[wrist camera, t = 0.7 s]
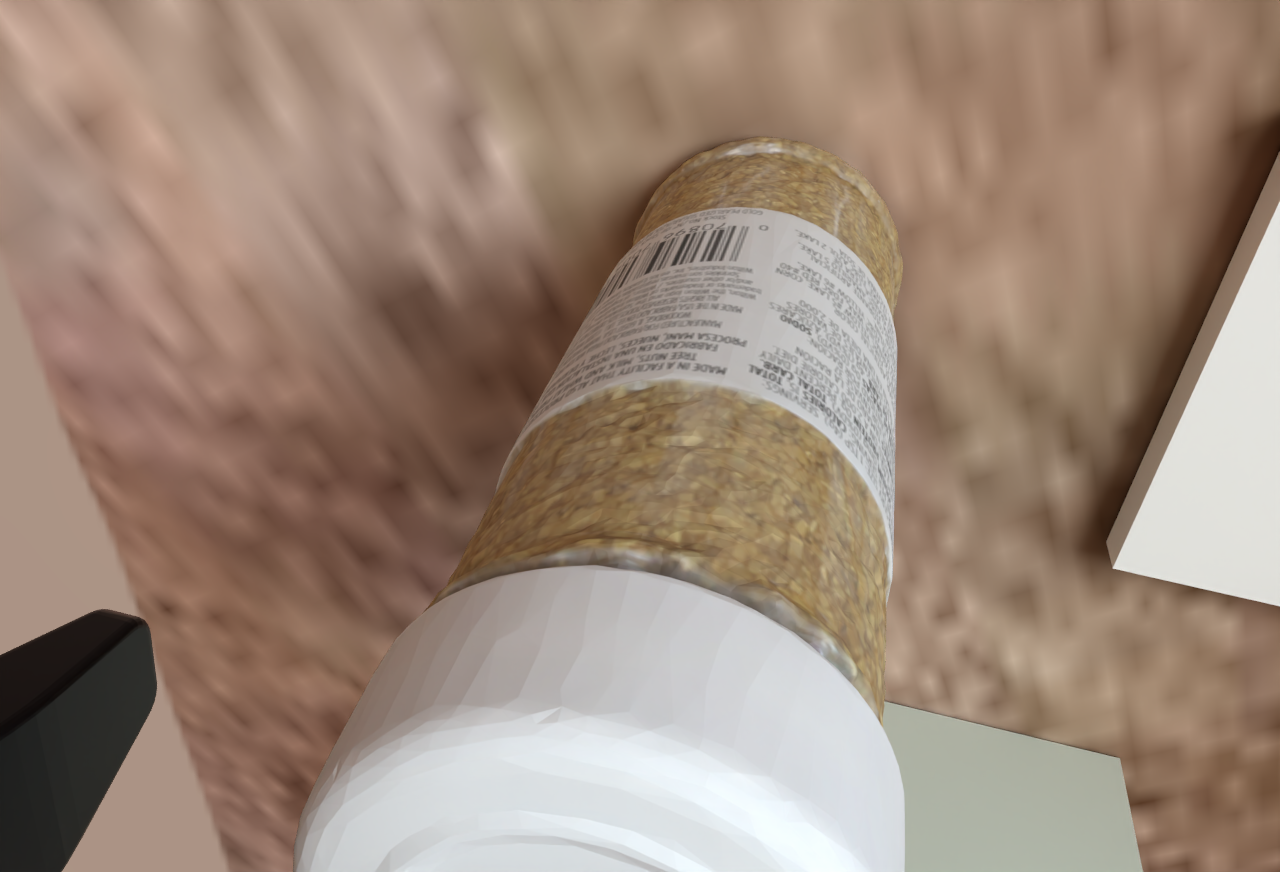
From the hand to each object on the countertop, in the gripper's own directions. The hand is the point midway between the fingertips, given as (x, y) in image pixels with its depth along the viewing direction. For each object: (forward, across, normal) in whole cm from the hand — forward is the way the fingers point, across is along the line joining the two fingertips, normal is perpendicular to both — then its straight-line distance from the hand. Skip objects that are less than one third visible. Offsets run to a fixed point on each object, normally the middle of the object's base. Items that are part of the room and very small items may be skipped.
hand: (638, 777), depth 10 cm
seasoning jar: (+12, 0, 0) cm, 12 cm away
